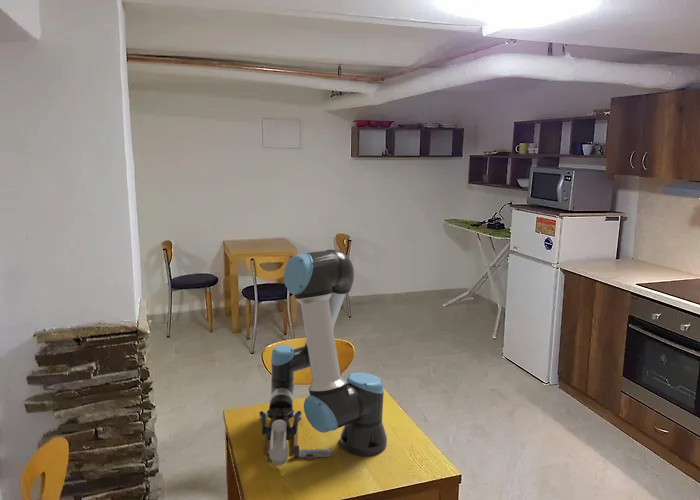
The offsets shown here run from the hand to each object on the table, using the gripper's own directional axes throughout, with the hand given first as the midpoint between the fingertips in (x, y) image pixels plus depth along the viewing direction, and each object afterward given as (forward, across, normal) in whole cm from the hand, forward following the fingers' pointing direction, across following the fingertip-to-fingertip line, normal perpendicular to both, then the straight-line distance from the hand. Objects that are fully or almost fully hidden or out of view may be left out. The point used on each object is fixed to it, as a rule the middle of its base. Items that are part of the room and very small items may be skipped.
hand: (278, 444), depth 156 cm
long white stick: (-11, -10, -11) cm, 18 cm away
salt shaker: (-5, 0, -9) cm, 11 cm away
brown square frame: (-17, -3, -11) cm, 21 cm away
